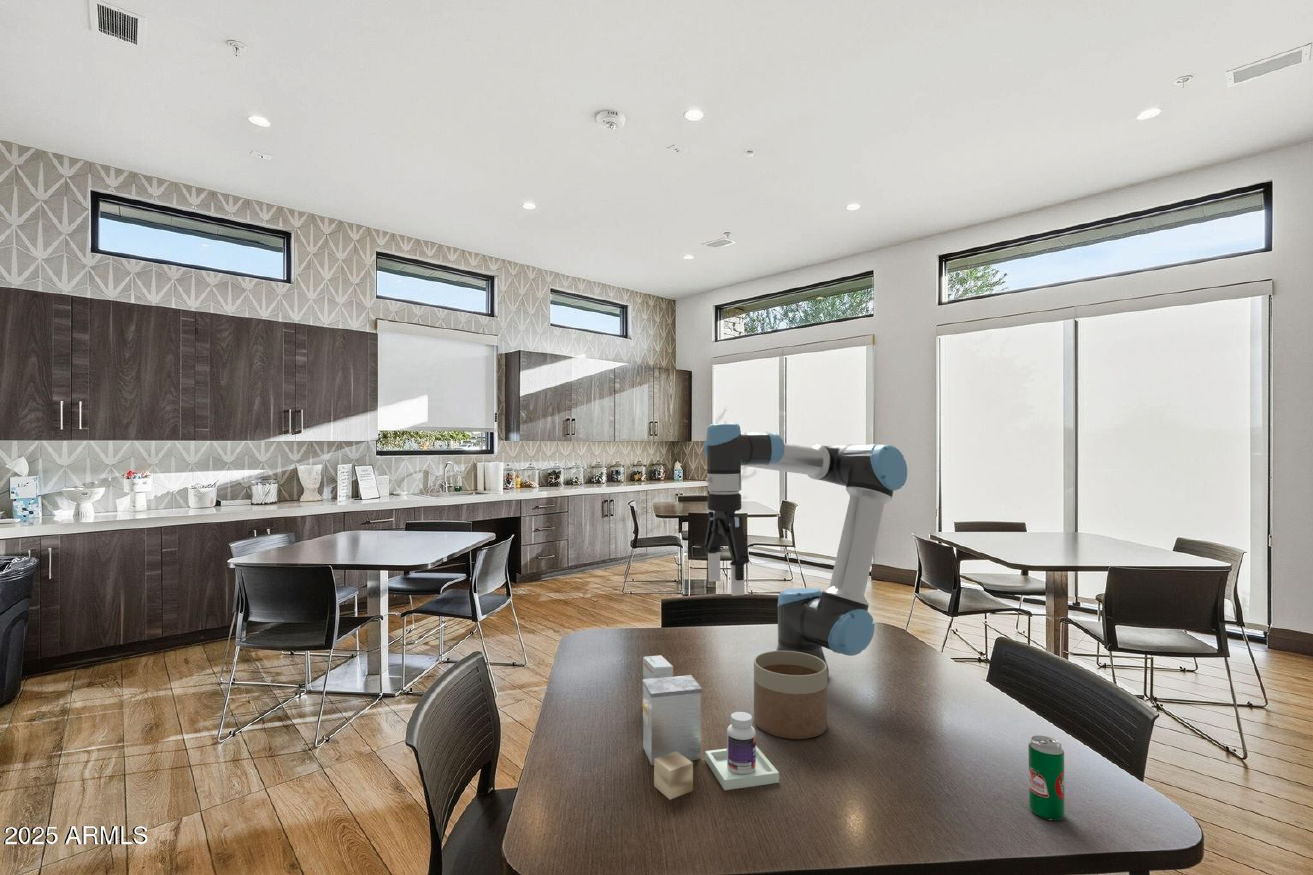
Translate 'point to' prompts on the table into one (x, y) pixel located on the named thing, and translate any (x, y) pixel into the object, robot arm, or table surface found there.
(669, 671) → the ink box
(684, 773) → the maple block
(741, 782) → the tray
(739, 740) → the pill bottle
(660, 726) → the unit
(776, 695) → the planter
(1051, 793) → the soda can
